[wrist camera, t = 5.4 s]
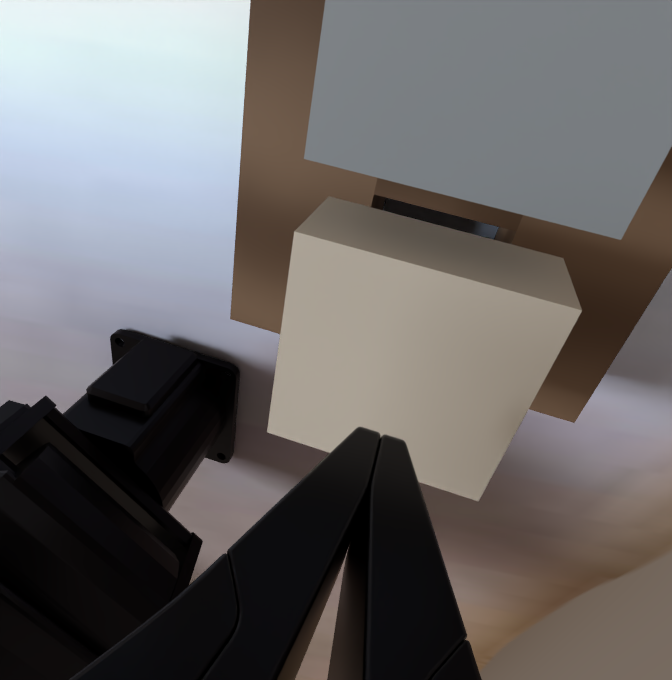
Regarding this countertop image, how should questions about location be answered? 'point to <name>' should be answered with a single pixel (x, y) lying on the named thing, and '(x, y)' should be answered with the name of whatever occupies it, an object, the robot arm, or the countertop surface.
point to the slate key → (500, 101)
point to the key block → (324, 180)
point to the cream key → (416, 339)
